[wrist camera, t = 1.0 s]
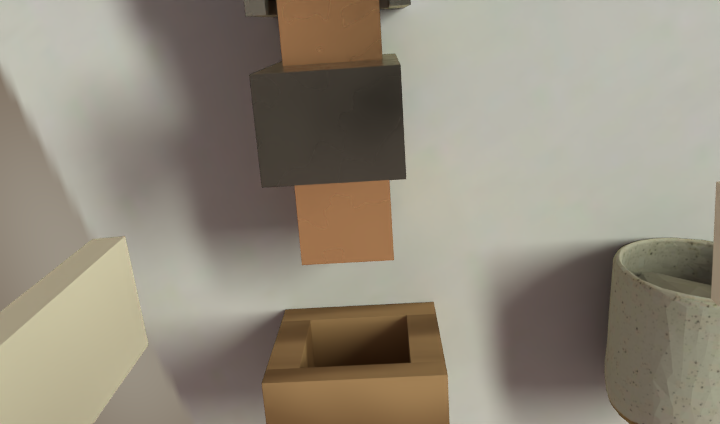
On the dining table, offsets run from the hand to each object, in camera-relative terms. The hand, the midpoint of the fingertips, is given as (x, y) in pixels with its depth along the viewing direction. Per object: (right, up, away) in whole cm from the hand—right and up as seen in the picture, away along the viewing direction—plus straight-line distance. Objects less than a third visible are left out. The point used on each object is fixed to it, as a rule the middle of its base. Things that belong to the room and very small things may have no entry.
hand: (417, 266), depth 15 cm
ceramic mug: (+16, -4, +21) cm, 27 cm away
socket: (-1, -6, +22) cm, 23 cm away
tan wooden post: (-2, +10, +15) cm, 18 cm away
